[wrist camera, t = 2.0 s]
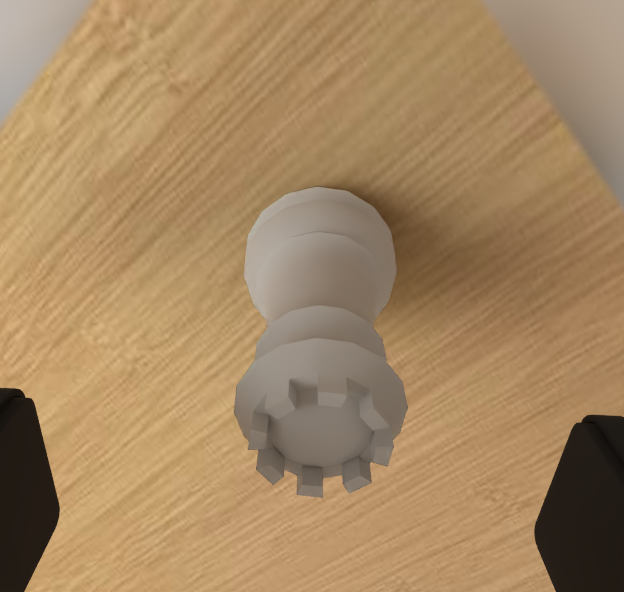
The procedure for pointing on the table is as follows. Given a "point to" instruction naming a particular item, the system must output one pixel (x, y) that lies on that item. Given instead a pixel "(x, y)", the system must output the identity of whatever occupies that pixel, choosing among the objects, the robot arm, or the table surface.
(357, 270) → the rook chess piece
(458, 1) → the table surface
